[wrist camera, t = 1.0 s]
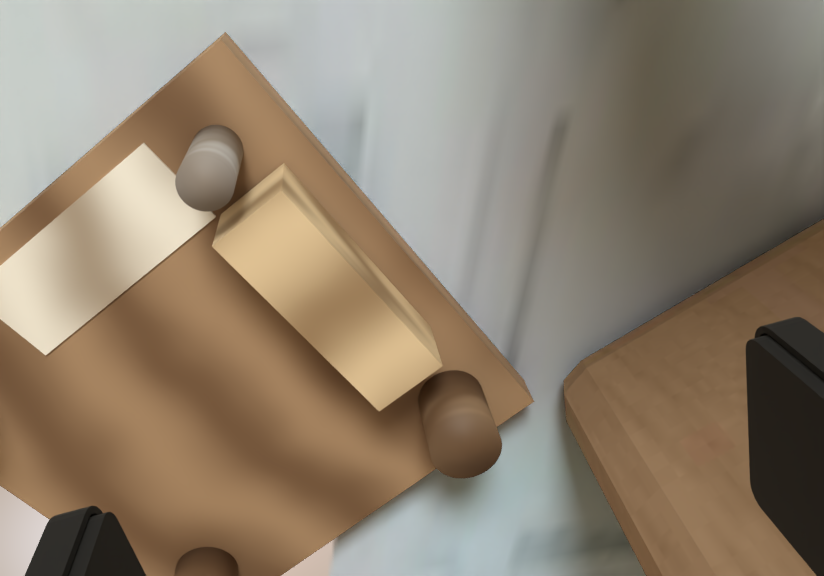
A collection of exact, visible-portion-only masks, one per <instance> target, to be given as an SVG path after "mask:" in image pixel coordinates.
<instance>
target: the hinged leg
mask: <svg viewBox="0 0 824 576" xmlns="http://www.w3.org/2000/svg"><path fill="white" fill-rule="evenodd" d="M212 247H213V248H214V249H215V250H216V251H217V252H218V253H219V254H220V255H221V256H222V257H223V258H224V259H225V260H226V261H227V262H228V263H229V264H230V265H231V266H232V267H233V268H234V269H235V270H236V271H237V272H238V273H239V274H240V275H241V276H242V277H243V278H244V279H245V280H246V281H247V282H248V283H249V284H250V285H251V286H252V287H253V288H254V289H256V290H257V291H258V292H259V293H260V294H261V295H262V296H263V297H264V298H265V299H266V300H267V301H268V302H269V303H270V304H271V305H272V306H273V307H274V308H275V309H276V310H277V311H278V312H279V313H280V314H281V315H282V316H283V317H284V318H285V319H286V320H287V321H288V322H289V323H290V324H291V325H292V326H293V327H294V328H295V329H296V330H297V331H298V332H299V333H300V334H301V335H302V336H303V337H304V338H305V339H306V340H307V341H308V342H309V343H310V344H311V345H312V346H313V347H314V348H315V349H316V350H317V351H318V352H319V353H320V354H321V355H322V356H323V357H324V358H325V359H326V360H327V361H328V362H329V363H330V364H331V365H332V366H333V367H334V368H336V369H337V370H338V371H339V372H340V373H341V374H342V375H343V376H344V377H345V378H346V379H347V380H348V381H349V382H350V383H351V384H352V385H353V386H354V387H355V388H356V389H357V390H358V391H359V392H360V393H361V394H362V395H363V396H364V397H365V398H366V399H367V400H368V401H369V402H370V403H371V404H372V405H373V406H374V407H375V408H376V409H377V410H378V411H381V410H382V409H384V408H385V407H386V406H388V405H389V404H391V403H392V402H393V401H395V400H396V399H397V398H399V397H400V396H402V395H403V394H404V393H406V392H407V391H409V390H410V389H411V388H413V387H414V386H416V385H417V384H418V383H420V382H421V381H423V380H424V379H425V378H427V377H428V376H430V375H431V374H432V373H434V372H435V371H437V370H438V369H439V368H441V367H442V366H443V365H442V362H441V359H440V355H439V352H438V349H437V346H436V342H435V339H434V336H433V333H432V329H431V327H430V325H429V324H428V323H427V322H426V321H425V320H424V319H423V318H422V316H421V315H420V314H419V313H418V312H417V311H416V310H415V309H414V308H413V306H412V305H411V304H410V303H409V302H408V301H407V300H406V299H405V298H404V296H403V295H402V294H401V293H400V292H399V291H398V290H397V289H396V288H395V286H394V285H393V284H392V283H391V282H390V281H389V280H388V279H387V277H386V276H385V275H384V274H383V273H382V272H381V271H380V270H379V269H378V267H377V266H376V265H375V264H374V263H373V262H372V261H371V260H370V259H369V257H368V256H367V255H366V254H365V253H364V252H363V251H362V250H361V249H360V247H359V246H358V245H357V244H356V243H355V242H354V241H353V240H352V238H351V237H350V236H349V235H348V234H347V233H346V232H345V231H344V230H343V228H342V227H341V226H340V225H339V224H338V223H337V222H336V221H335V220H334V218H333V217H332V216H331V215H330V214H329V213H328V212H327V211H326V210H325V208H324V207H323V206H322V205H321V204H320V203H319V202H318V201H317V199H316V198H315V197H314V196H313V195H312V194H311V193H310V192H309V191H308V189H307V188H306V187H305V186H304V185H303V184H302V183H301V182H300V181H299V179H298V178H297V177H296V176H295V175H294V174H293V173H292V172H291V171H290V169H289V168H288V167H287V166H286V165H285V164H284V163H283V164H282V165H281V166H280V167H278V168H277V169H276V170H275V171H273V172H272V173H271V174H270V175H268V176H267V177H266V178H265V179H264V180H262V181H261V182H260V183H259V184H257V185H256V186H255V187H254V188H252V189H251V190H250V191H249V192H248V193H246V194H245V195H244V196H243V197H241V198H240V199H239V200H238V201H237V202H235V203H234V204H233V205H232V206H230V207H229V208H228V209H227V210H225V211H224V212H223V213H222V214H221V216H220V219H219V223H218V226H217V230H216V233H215V237H214V241H213V244H212Z"/></svg>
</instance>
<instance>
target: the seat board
mask: <svg viewBox="0 0 824 576" xmlns="http://www.w3.org/2000/svg"><path fill="white" fill-rule="evenodd" d="M283 163H284V164H285V165H286V166H287V167H288V168H289V169H290V171H291V172H292V173H293V174H294V175H295V176H296V177H297V178H298V179H299V181H300V182H301V183H302V184H303V185H304V186H305V187H306V188H307V189H308V191H309V192H310V193H311V194H312V195H313V196H314V197H315V198H316V199H317V201H318V202H319V203H320V204H321V205H322V206H323V207H324V208H325V210H326V211H327V212H328V213H329V214H330V215H331V216H332V217H333V218H334V220H335V221H336V222H337V223H338V224H339V225H340V226H341V227H342V228H343V230H344V231H345V232H346V233H347V234H348V235H349V236H350V237H351V238H352V240H353V241H354V242H355V243H356V244H357V245H358V246H359V247H360V249H361V250H362V251H363V252H364V253H365V254H366V255H367V256H368V257H369V259H370V260H371V261H372V262H373V263H374V264H375V265H376V266H377V267H378V269H379V270H380V271H381V272H382V273H383V274H384V275H385V276H386V277H387V279H388V280H389V281H390V282H391V283H392V284H393V285H394V286H395V288H396V289H397V290H398V291H399V292H400V293H401V294H402V295H403V296H404V298H405V299H406V300H407V301H408V302H409V303H410V304H411V305H412V306H413V308H414V309H415V310H416V311H417V312H418V313H419V314H420V315H421V316H422V318H423V319H424V320H425V321H426V322H427V323H428V324H429V325H430V327H431V329H432V333H433V336H434V339H435V342H436V346H437V349H438V352H439V355H440V359H441V362H442V365H443V366H442V367H441V368H439V369H438V370H437V371H435V372H434V373H432V374H431V375H430V376H428V377H427V378H425V379H424V380H423V381H421V382H420V383H418V384H417V385H416V386H414V387H413V388H411V389H410V390H409V391H407V392H406V393H404V394H403V395H402V396H400V397H399V398H397V399H396V400H395V401H393V402H392V403H391V404H389V405H388V406H386V407H385V408H384V409H382V410H381V411H378V410H377V409H376V408H375V407H374V406H373V405H372V404H371V403H370V402H369V401H368V400H367V399H366V398H365V397H364V396H363V395H362V394H361V393H360V392H359V391H358V390H357V389H356V388H355V387H354V386H353V385H352V384H351V383H350V382H349V381H348V380H347V379H346V378H345V377H344V376H343V375H342V374H341V373H340V372H339V371H338V370H337V369H336V368H334V367H333V366H332V365H331V364H330V363H329V362H328V361H327V360H326V359H325V358H324V357H323V356H322V355H321V354H320V353H319V352H318V351H317V350H316V349H315V348H314V347H313V346H312V345H311V344H310V343H309V342H308V341H307V340H306V339H305V338H304V337H303V336H302V335H301V334H300V333H299V332H298V331H297V330H296V329H295V328H294V327H293V326H292V325H291V324H290V323H289V322H288V321H287V320H286V319H285V318H284V317H283V316H282V315H281V314H280V313H279V312H278V311H277V310H276V309H275V308H274V307H273V306H272V305H271V304H270V303H269V302H268V301H267V300H266V299H265V298H264V297H263V296H262V295H261V294H260V293H259V292H258V291H257V290H256V289H254V288H253V287H252V286H251V285H250V284H249V283H248V282H247V281H246V280H245V279H244V278H243V277H242V276H241V275H240V274H239V273H238V272H237V271H236V270H235V269H234V268H233V267H232V266H231V265H230V264H229V263H228V262H227V261H226V260H225V259H224V258H223V257H222V256H221V255H220V254H219V253H218V252H217V251H216V250H215V249H214V248H213V247H212V244H213V241H214V237H215V233H216V230H217V226H218V223H219V219H220V216H221V214H222V213H223V212H224V211H225V210H227V209H228V208H229V207H230V206H232V205H233V204H234V203H235V202H237V201H238V200H239V199H240V198H241V197H243V196H244V195H245V194H246V193H248V192H249V191H250V190H251V189H252V188H254V187H255V186H256V185H257V184H259V183H260V182H261V181H262V180H264V179H265V178H266V177H267V176H268V175H270V174H271V173H272V172H273V171H275V170H276V169H277V168H278V167H280V166H281V165H282V164H283ZM532 402H534V401H533V399H532V396H531V394H530V392H529V390H528V388H527V386H526V384H525V382H524V380H523V378H522V377H521V376H520V375H519V374H518V373H517V371H516V370H515V369H514V368H513V367H512V366H511V364H510V363H509V362H508V361H507V360H506V359H505V357H504V356H503V355H502V354H501V353H500V352H499V350H498V349H497V348H496V347H495V346H494V345H493V343H492V342H491V341H490V340H489V339H488V338H487V336H486V335H485V334H484V333H483V332H482V331H481V329H480V328H479V327H478V326H477V325H476V324H475V322H474V321H473V320H472V319H471V318H470V317H469V315H468V314H467V313H466V312H465V311H464V310H463V308H462V307H461V306H460V305H459V304H458V303H457V301H456V300H455V299H454V298H453V297H452V296H451V294H450V293H449V292H448V291H447V290H446V289H445V287H444V286H443V285H442V284H441V283H440V282H439V280H438V279H437V278H436V277H435V276H434V275H433V273H432V272H431V271H430V270H429V269H428V268H427V266H426V265H425V264H424V263H423V262H422V261H421V259H420V258H419V257H418V256H417V255H416V254H415V252H414V251H413V250H412V249H411V248H410V247H409V245H408V244H407V243H406V242H405V241H404V240H403V238H402V237H401V236H400V235H399V234H398V233H397V231H396V230H395V229H394V228H393V227H392V226H391V224H390V223H389V222H388V221H387V220H386V219H385V217H384V216H383V215H382V214H381V213H380V212H379V210H378V209H377V208H376V207H375V206H374V205H373V203H372V202H371V201H370V200H369V199H368V198H367V196H366V195H365V194H364V193H363V192H362V191H361V189H360V188H359V187H358V186H357V185H356V184H355V182H354V181H353V180H352V179H351V178H350V177H349V175H348V174H347V173H346V172H345V171H344V170H343V168H342V167H341V166H340V165H339V164H338V163H337V161H336V160H335V159H334V158H333V157H332V156H331V154H330V153H329V152H328V151H327V150H326V149H325V147H324V146H323V145H322V144H321V143H320V142H319V140H318V139H317V138H316V137H315V136H314V135H313V133H312V132H311V131H310V130H309V129H308V128H307V126H306V125H305V124H304V123H303V122H302V121H301V119H300V118H299V117H298V116H297V115H296V114H295V112H294V111H293V110H292V109H291V108H290V107H289V105H288V104H287V103H286V102H285V101H284V100H283V98H282V97H281V96H280V95H279V94H278V93H277V91H276V90H275V89H274V88H273V87H272V86H271V84H270V83H269V82H268V81H267V80H266V79H265V77H264V76H263V75H262V74H261V73H260V72H259V71H258V69H257V68H256V67H255V66H254V65H253V64H252V62H251V61H250V60H249V59H248V58H247V57H246V55H245V54H244V53H243V52H242V51H241V50H240V48H239V47H238V46H237V45H236V44H235V43H234V41H233V40H232V39H231V38H230V37H229V36H228V34H227V33H226V32H225V33H224V34H223V35H222V36H221V37H219V38H218V39H217V40H216V41H215V42H214V43H213V44H211V45H210V46H209V47H208V48H207V49H206V50H205V51H203V52H202V53H201V54H200V55H199V56H198V57H196V58H195V59H194V60H193V61H192V62H191V63H190V64H188V65H187V66H186V67H185V68H184V69H183V70H182V71H180V72H179V73H178V74H177V75H176V76H175V77H173V78H172V79H171V80H170V81H169V82H168V83H167V84H165V85H164V86H163V87H162V88H161V89H160V90H159V91H157V92H156V93H155V94H154V95H153V96H152V97H150V98H149V99H148V100H147V101H146V102H145V103H144V104H142V105H141V106H140V107H139V108H138V109H137V110H135V111H134V112H133V113H132V114H131V115H130V116H129V117H127V118H126V119H125V120H124V121H123V122H122V123H121V124H119V125H118V126H117V127H116V128H115V129H114V130H112V131H111V132H110V133H109V134H108V135H107V136H106V137H104V138H103V139H102V140H101V141H100V142H99V143H98V144H96V145H95V146H94V147H93V148H92V149H91V150H89V151H88V152H87V153H86V154H85V155H84V156H83V157H81V158H80V159H79V160H78V161H77V162H76V163H75V164H73V165H72V166H71V167H70V168H69V169H68V170H66V171H65V172H64V173H63V174H62V175H61V176H60V177H58V178H57V179H56V180H55V181H54V182H53V183H52V184H50V185H49V186H48V187H47V188H46V189H45V190H43V191H42V192H41V193H40V194H39V195H38V196H37V197H35V198H34V199H33V200H32V201H31V202H30V203H29V204H27V205H26V206H25V207H24V208H23V209H22V210H20V211H19V212H18V213H17V214H16V215H15V216H14V217H12V218H11V219H10V220H9V221H8V222H7V223H6V224H4V225H3V226H2V227H1V228H0V486H2V487H3V488H5V489H6V490H7V491H9V492H10V493H12V494H13V495H15V496H16V497H18V498H19V499H21V500H22V501H24V502H25V503H26V504H28V505H29V506H31V507H32V508H34V509H35V510H37V511H38V512H39V513H41V514H42V515H44V516H45V517H47V518H48V519H50V518H52V517H53V516H55V515H59V514H62V513H66V512H70V511H74V510H77V509H81V508H85V507H88V506H97V507H98V508H99V509H100V510H101V511H102V512H103V513H106V512H112V513H113V514H114V515H115V516H116V517H117V519H118V521H119V523H120V525H121V527H122V529H123V531H124V533H125V535H126V537H127V539H128V541H129V543H130V545H131V546H132V548H133V550H134V552H135V554H136V556H137V558H138V560H139V562H140V564H141V566H142V568H143V570H144V572H145V574H146V576H281V575H282V574H284V573H285V572H287V571H288V570H290V569H291V568H292V567H294V566H295V565H297V564H298V563H300V562H301V561H303V560H304V559H306V558H307V557H308V556H310V555H311V554H313V553H314V552H316V551H317V550H319V549H320V548H322V547H323V546H324V545H326V544H327V543H329V542H330V541H332V540H333V539H335V538H336V537H338V536H339V535H340V534H342V533H343V532H345V531H346V530H348V529H349V528H351V527H352V526H354V525H355V524H356V523H358V522H359V521H361V520H362V519H364V518H365V517H367V516H368V515H370V514H371V513H372V512H374V511H375V510H377V509H378V508H380V507H381V506H383V505H384V504H386V503H387V502H388V501H390V500H391V499H393V498H394V497H396V496H397V495H399V494H400V493H402V492H403V491H404V490H406V489H407V488H409V487H410V486H412V485H413V484H415V483H416V482H418V481H419V480H420V479H422V478H423V477H425V476H426V475H428V474H429V473H431V472H432V471H434V470H435V469H436V468H437V470H439V471H440V472H441V473H443V474H445V475H447V476H449V477H453V478H470V477H474V476H477V475H479V474H482V473H484V472H485V471H487V470H488V469H489V468H491V467H492V466H493V465H494V464H495V462H496V461H497V459H498V458H499V456H500V453H501V449H502V441H501V438H500V435H499V432H498V429H497V427H498V426H499V425H500V424H502V423H503V422H505V421H506V420H508V419H509V418H511V417H512V416H514V415H515V414H516V413H518V412H519V411H521V410H522V409H524V408H525V407H527V406H528V405H530V404H531V403H532Z"/></svg>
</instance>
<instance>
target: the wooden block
mask: <svg viewBox="0 0 824 576" xmlns="http://www.w3.org/2000/svg"><path fill="white" fill-rule="evenodd" d="M793 317H801V318H803V319H805V320H807V321H808V322H809V323H811V324H812V325H813V326H815V327H816V328H818V329H819V330H820V331H822V332H823V333H824V219H822V220H821V221H819V222H817V223H816V224H814V225H812V226H810V227H809V228H807V229H805V230H804V231H802V232H800V233H798V234H797V235H795V236H793V237H792V238H790V239H788V240H787V241H785V242H783V243H781V244H780V245H778V246H776V247H775V248H773V249H771V250H769V251H768V252H766V253H764V254H763V255H761V256H759V257H757V258H756V259H754V260H752V261H751V262H749V263H747V264H745V265H744V266H742V267H740V268H739V269H737V270H735V271H734V272H732V273H730V274H728V275H727V276H725V277H723V278H722V279H720V280H718V281H716V282H715V283H713V284H711V285H710V286H708V287H706V288H704V289H703V290H701V291H699V292H698V293H696V294H694V295H692V296H691V297H689V298H687V299H686V300H684V301H682V302H681V303H679V304H677V305H675V306H674V307H672V308H670V309H669V310H667V311H665V312H663V313H662V314H660V315H658V316H657V317H655V318H653V319H651V320H650V321H648V322H646V323H645V324H643V325H641V326H639V327H638V328H636V329H634V330H633V331H631V332H629V333H628V334H626V335H624V336H622V337H621V338H619V339H617V340H616V341H614V342H612V343H610V344H609V345H607V346H605V347H604V348H602V349H600V350H598V351H597V352H595V353H593V354H592V355H590V356H588V357H586V358H585V359H583V360H581V362H580V363H579V364H578V365H577V366H576V367H575V368H574V369H573V370H572V372H571V373H570V374H569V375H568V376H567V377H566V378H565V379H564V400H565V411H566V422H567V423H568V425H569V427H570V429H571V431H572V433H573V435H574V437H575V439H576V441H577V443H578V445H579V447H580V449H581V451H582V452H583V454H584V456H585V458H586V460H587V462H588V464H589V466H590V468H591V470H592V472H593V474H594V476H595V478H596V480H597V481H598V483H599V485H600V487H601V489H602V491H603V493H604V495H605V497H606V499H607V501H608V503H609V505H610V507H611V509H612V510H613V512H614V514H615V516H616V518H617V520H618V522H619V524H620V526H621V528H622V530H623V532H624V534H625V536H626V538H627V539H628V541H629V543H630V545H631V547H632V549H633V551H634V553H635V555H636V557H637V559H638V561H639V563H640V565H641V566H642V568H643V570H644V572H645V574H646V576H816V574H815V573H814V572H813V571H812V570H811V568H810V567H809V566H808V565H807V563H806V562H805V561H804V560H803V559H802V557H801V556H800V555H799V554H798V553H797V551H796V550H795V549H794V548H793V547H792V545H791V544H790V543H789V542H788V541H787V539H786V538H785V537H784V536H783V534H782V533H781V532H780V531H779V530H778V528H777V527H776V526H775V525H774V524H773V522H772V521H771V520H770V519H769V518H768V516H767V515H766V514H765V513H764V512H763V510H762V509H761V508H760V506H759V505H758V503H757V501H756V500H755V498H754V495H753V493H752V489H751V485H750V468H749V438H748V408H747V378H746V344H747V341H749V340H750V339H754V338H755V332H756V330H757V329H758V328H759V327H760V326H763V325H767V324H771V323H775V322H778V321H782V320H786V319H790V318H793Z"/></svg>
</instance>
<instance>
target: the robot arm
mask: <svg viewBox="0 0 824 576" xmlns="http://www.w3.org/2000/svg"><path fill="white" fill-rule="evenodd" d="M746 378H747V408H748V438H749V468H750V485H751V489H752V493H753V495H754V498H755V500H756V501H757V503H758V505H759V506H760V508H761V509H762V510H763V512H764V513H765V514H766V515H767V516H768V518H769V519H770V520H771V521H772V522H773V524H774V525H775V526H776V527H777V528H778V530H779V531H780V532H781V533H782V534H783V536H784V537H785V538H786V539H787V541H788V542H789V543H790V544H791V545H792V547H793V548H794V549H795V550H796V551H797V553H798V554H799V555H800V556H801V557H802V559H803V560H804V561H805V562H806V563H807V565H808V566H809V567H810V568H811V570H812V571H813V572H814V573H815V574H816V576H824V333H823V332H822V331H820V330H819V329H818V328H816V327H815V326H813V325H812V324H811V323H809V322H808V321H807V320H805V319H803V318H801V317H793V318H790V319H786V320H782V321H778V322H775V323H771V324H767V325H763V326H760V327H759V328H758V329H757V330H756V332H755V338H754V339H750V340H749V341H747V344H746ZM25 576H146V574H145V572H144V570H143V568H142V566H141V564H140V562H139V560H138V558H137V556H136V554H135V552H134V550H133V548H132V546H131V545H130V543H129V541H128V539H127V537H126V535H125V533H124V531H123V529H122V527H121V525H120V523H119V521H118V519H117V517H116V516H115V515H114V514H113V513H112V512H106V513H103V512H102V511H101V510H100V509H99V508H98V507H97V506H88V507H85V508H81V509H77V510H74V511H70V512H66V513H62V514H59V515H55V516H53V517H52V518H50V520H49V522H48V523H47V525H46V528H45V530H44V532H43V534H42V537H41V539H40V542H39V544H38V546H37V548H36V551H35V553H34V556H33V558H32V560H31V563H30V565H29V567H28V569H27V572H26V574H25Z"/></svg>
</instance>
